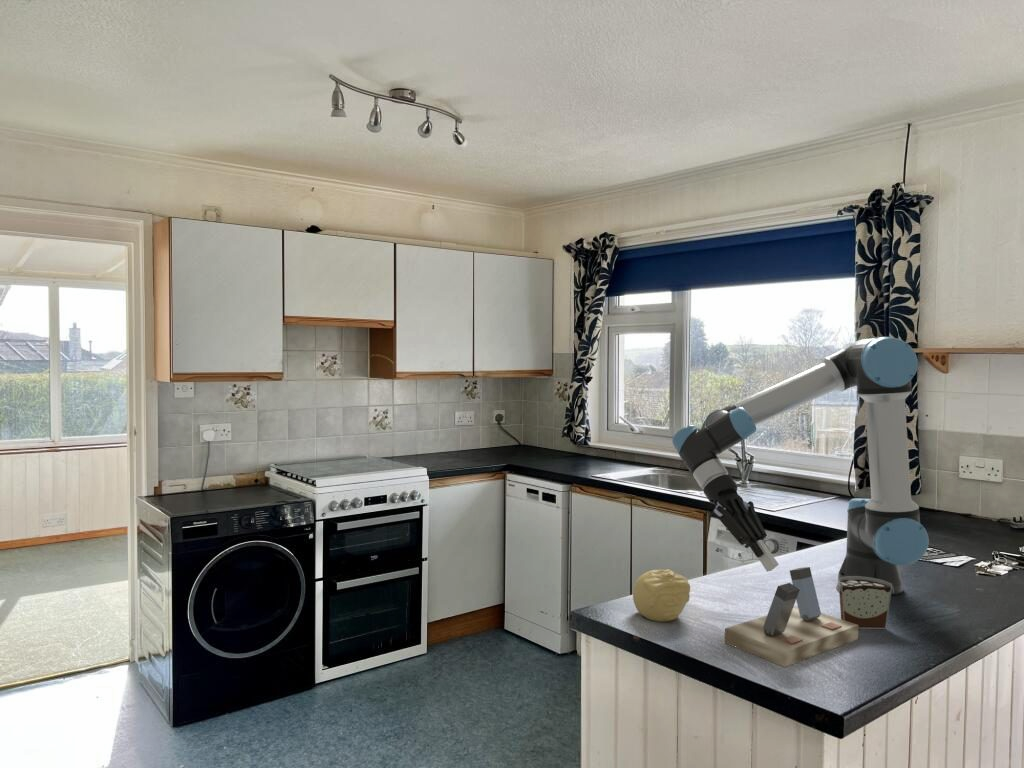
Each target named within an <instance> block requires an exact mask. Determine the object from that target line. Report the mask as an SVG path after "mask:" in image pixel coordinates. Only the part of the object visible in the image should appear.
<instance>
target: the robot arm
mask: <svg viewBox="0 0 1024 768" xmlns="http://www.w3.org/2000/svg"><path fill="white" fill-rule="evenodd" d="M918 364H919V363H918V356H917V353H916V351H915V350H914V349H913V347H912V346H911V345H909V343H907V342H906V341H904V340H903V339H900V338H897V337H891V336H881V337H873V338H872V337H870V338H868V337H867V338H862V339H859V340H856V341H855V342H853V343H850V344H849V345H847V346H846V347H843V348H841V349H839V350H838V351H836V352H835V353H832V354H830V355H828V356H826V357H824V358H823V361H822V363H820V364H818V365H815V366H813V367H812V368H809V369H807V370H805V371H802V372H800V373H798V374H796V375H794V376H791V377H789V378H787V379H785V380H783V381H781V382H778V383H776V384H774V385H772V386H770V387H767V388H765V389H763V390H761V391H759V392H756V393H754V394H752V395H750V396H748V397H745V398H743V399H741V400H739V401H736V402H735V403H733V404H730V405H728V406H725V407H723V408H721V409H715V410H713V411H711V412H709V413H708V414H707V416H706V417H705V420H704V427H702V428H699V427H698V426H696V425H695V424H689V425H687V426H684V427H682V428H680V429H679V430H678V431H676V433H675V434H674V435H673V436H672V441H671V442H672V445H673V447H674V448H675V450H676V452H677V454H678V455H679V457H680V459H681V460H682V462H683V463H684V464H685V466H686V467H687V469H688V470H689V472H690V474H691V475H692V476H693V478H694V479H695V481H696V483H697V484H698V486H699V487H700V489H702V492H703V494H704V495H705V497H706V498H707V500H708V502H709V503H710V504H713V505H714V506H715V508H714V509H713V510H712V512H711V514H712V515H713V516H714V517H715V518H717V519H718V521H720V523H721V524H723V525H724V527H725V528H726V529H727V531H729V533H730V534H731V535H732V536H733V537H734V538H735V540H736V541H737V542H738V544H740V545H741V546H743V547H744V548H745V549H748V548H750V549H751V551H752V552H753V554H754V555H755V557H756V558H757V559H758V560H759V562H760V564H761V565H762V566H763V568H764V570H766V571H765V572H767V573H768V572H772V571H774V569H775V568H777V567H778V566H779V563H778V561H777V559H776V558H775V556H774V555H773V554H772V551H771V549H770V548H769V547H768V545H767V543H766V542H765V538H766V537H767V536H768V535H767V532H766V529H765V528H764V526H763V524H762V522H761V520H760V518H759V516H758V514H757V511H756V509H755V505H754V502H753V501H751V500H750V501H748V502H746V501H744V499H743V497H742V496H741V495H739V493H738V484H737V483H736V482H735V480H734V479H733V477H732V476H731V475H730V474H729V471H728V469H726V466H725V465H724V464H723V463H722V461H721V460H720V459H719V457H718V455H720V454H722V453H723V452H724V451H726V450H729V449H730V448H732V447H734V446H735V445H737V444H739V443H741V442H742V441H745V440H747V439H748V438H750V436H752V435H754V434H755V433H756V431H757V425H760V424H762V423H764V422H766V421H769V420H771V419H773V418H775V417H777V416H779V415H782V414H784V413H786V412H788V411H791V410H793V409H795V408H797V407H798V408H799V406H802V405H805V404H807V403H809V402H812V401H813V400H815V399H816V400H817V399H818V398H820V397H822V396H825V395H827V394H829V393H831V392H834V391H839V392H843V391H845V390H848V389H850V388H854V387H856V386H857V388H856V389H857V396H858V397H860V398H861V399H862V400H863V401H864V406H865V419H866V420H865V421H866V434H867V435H866V438H867V451H868V467H869V481H870V496H871V497H870V498H860V497H856V498H851V499H850V500H849V502H848V506H847V507H848V508H847V529H846V550H845V551H846V554H845V557H844V559H843V561H842V563H841V566H840V569H839V571H838V574H837V582H838V581H839V579H840V578H842V577H846V576H862V577H870V578H875V579H880V580H883V581H886V582H889V583H891V584H892V587H893V589H894V593H892V592H891V596H896V595H900V594H901V593H903V585H904V584H903V580H902V576H901V573H900V570H899V566H909V565H911V564H915V563H916V562H918V561H919V560H920V559H921V558H922V557H924V556H925V554H926V552H927V550H928V549H929V548H928V547H929V543H930V539H929V534H928V531H927V530H926V528H925V527H924V526H923V524H921V518H920V515H921V514H920V506H919V504H917V503H916V502H915V501H914V500H913V499H912V493H911V492H912V491H911V478H910V474H911V473H910V460H909V443H908V442H909V441H908V429H907V428H908V427H907V412H906V398H908V397H909V396H910V395H911V394H912V379H913V378H914V376H915V375H916V373H917V371H918V366H919V365H918ZM899 593H900V594H899ZM895 594H896V595H895Z"/></svg>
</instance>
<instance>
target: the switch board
mask: <svg viewBox="0 0 1024 768" xmlns="http://www.w3.org/2000/svg"><path fill="white" fill-rule="evenodd" d="M766 618H767V615H764V616H760V617H758V618H754V619H752V620H751V619H750V620H747V621H744V622H742V623H738V624H735V625H732V626H731V625H730V626H728V627H726V628H724V642H725V643H724V644H726V643H728V644H727V645H729V644H730V645H729V646H731V645H733V646H732V647H734V646H736V647H738V648H737V649H739V648H740V649H739V650H741V649H743V650H742V651H744V650H745V651H744V652H746V651H747V652H746V653H749V654H751V653H752V654H751V655H754V654H755V655H754V656H756V655H757V657H758V656H759V657H758V658H761V657H762V659H763V658H764V659H763V660H766V661H768V662H771V663H773V664H775V665H778V666H781V667H783V668H786V667H789V666H791V665H792V666H793V664H796V663H799V662H801V661H804V660H808V659H810V658H812V657H814V656H817V655H820V654H822V653H826V652H828V651H830V650H834V649H835V648H838V647H841V646H843V645H846V644H848V643H849V644H850V643H852V642H855V641H857V640H859V625H857V624H854V623H851V622H848V621H845V620H842V619H841V618H837V617H835V616H832V615H829V614H825V613H822V612H821V615H820V617H819V618H816V619H813V620H810V621H807V622H805V621H803V619H802V618H801V617H800V613H799V609H798V605H796V606H794V607H793V610H792V612H791V615H790V618H789V620H788V623H787V626H786V629H785V631H784V632H782V633H779V634H776V635H773V636H772V635H769V636H766V635H765V634H764V629H763V626H764V623H765V621H766ZM736 647H735V648H736Z"/></svg>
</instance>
